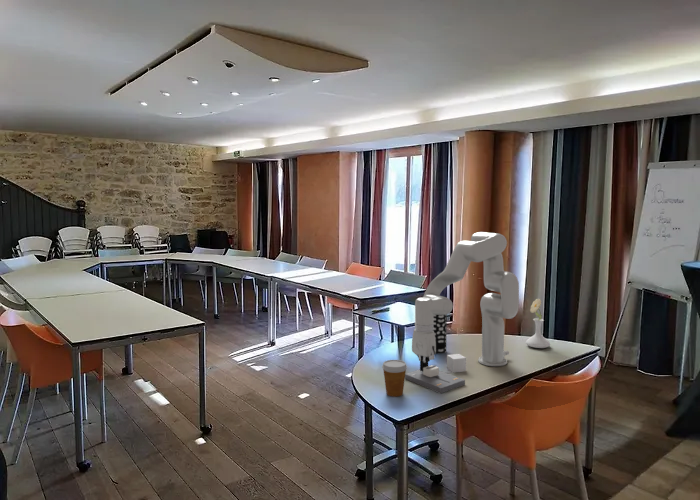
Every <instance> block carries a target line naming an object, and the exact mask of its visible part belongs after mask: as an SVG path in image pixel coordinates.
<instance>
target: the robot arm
mask: <svg viewBox="0 0 700 500" xmlns="http://www.w3.org/2000/svg"><path fill="white" fill-rule="evenodd" d="M507 245H508V241H507V238H506V237H505V235H503V234H501V233H497V232H496V233H495V232H487V231H478V232H475V233H473V234H472V235H471V237H470V240H461V241H459V242H457V244H456V245H455V247H454V249H453V251H452V253H451V255H450V257H449V259H448V261H447V263H446V266H445V267H444V269H443V271H441V272H440V273H438V274H437V276H436V277H434V279H432V280H431V282H430V283H429V284H428V285H427V288H426V290H425V291H424V294H423V296H422V297H418V298H416V299H415V301H414V314H415V315H414V326H415V327H414V329H413V333H412V338H411V352H412V353H413V354H414V355H415V356H417V358H418V361H419V370H420V371H423V368H424V367H427V366H429V362H430V360H431V361H432V360H435V358H436V357H435V356H436V341H435V334H434V332H433V326H434V324H433V323H434V315H446V314H447V315H448V314H450V313H451V312H452V310H453V309H454V304H453V302H452V300H451V299H450V298H448V297H446V296H443V295H441V293H442V291H444V289H445V288H446V287H448V286H450V285H451V284H452V285H453V284H454V283H457V282H460V281H462V280H463V279H464V277H465V274H466V272H467V270H468V268H469V266H470V264H471V262H473V263H481V262H483V285H484V287H485V289H487V290H489V291H493V292H487V293H485V294H484V295H483V296H481V298H480V303H479V304H480V311H481V317H482V318H481V319H482V322H481V323H482V324H481V325H482V327H481V356H479V357H478V359H477V360H478V363H480V364H481V365H484V366H487V367H488V366H489V367H504V366H505V365H507V363H508V359H506V358H505V356H508V355H509V354H510V351H509V350H505V348H504V347H505V346H504V344H505V321H504V319H506V320H507V319H509V320H510V319H511V320H512V319H513V318H514V317H516V315H517V314H518V312H519V305H520V304H519V303H520V301H519V300H520V299H519V298H520V284H519V283H520V282H519V280H518V276H516V275H515V274H514V273H513V272H510V271H506V270H504V269H505V267H504V258H503V254H502V253H503V252H504V251H505V250H506V247H507ZM495 292H497V293H495ZM499 293H500V294H499Z"/></svg>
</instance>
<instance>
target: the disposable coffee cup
mask: <svg viewBox="0 0 700 500" xmlns="http://www.w3.org/2000/svg"><path fill="white" fill-rule="evenodd" d="M381 368H382V370H383V375H384V378H383V379H384V385H385V392H386V395H387V396H389V397H396V398H397V397H400V396H401V397H402V395H403V394H404V387H405V386H404V385H405V380H406V379H405V374H406V370H407V368H408V365H407V363H406V361H403V360H400V359H389V360H385V361H383V362H382V366H381Z"/></svg>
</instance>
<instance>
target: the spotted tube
mask: <svg viewBox="0 0 700 500" xmlns="http://www.w3.org/2000/svg"><path fill="white" fill-rule="evenodd" d="M447 316H448V314H446V315H434V323H433V324H434V326H433V332H434V334H435V341H436V354H437V355H439V354H440V355H441V354H445V353H447V331H448V329H447V325H448V324H447V323H448V322H447V319H448V317H447ZM436 354H435V355H436Z"/></svg>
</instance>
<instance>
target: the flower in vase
mask: <svg viewBox="0 0 700 500" xmlns="http://www.w3.org/2000/svg"><path fill="white" fill-rule="evenodd" d="M541 305H542V300H541V298H536V299H535V300H533V302H532V304H531V305H530V309H529V312H530V313H532V314H533V313H535V315H536V317H535V318H533V319H532V320H533V321H534V324H535V334H533V335H532V336H530V337H529V338H528V339H526V340H525V344H526V345H527V346H529V347H530V348H531V347H532V348H535V349H545V348H549V347H550V345H551V344H550V341H549V340H548V339H547V338H546V337H544V336H543V335H542V333H541V330H542V324H543V322H544V321H545V320H544V319H543V318H542V317H543V315H542V313H541V310H540V308H541ZM538 311H539V312H538Z"/></svg>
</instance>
